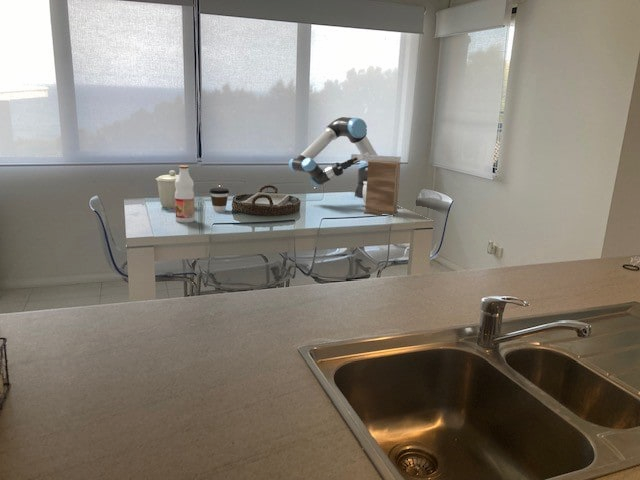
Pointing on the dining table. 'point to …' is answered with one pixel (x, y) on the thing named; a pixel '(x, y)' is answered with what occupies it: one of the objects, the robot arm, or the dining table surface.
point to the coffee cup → (219, 198)
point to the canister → (167, 189)
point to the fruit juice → (184, 196)
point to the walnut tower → (382, 187)
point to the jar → (364, 192)
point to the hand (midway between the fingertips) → (365, 154)
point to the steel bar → (378, 158)
